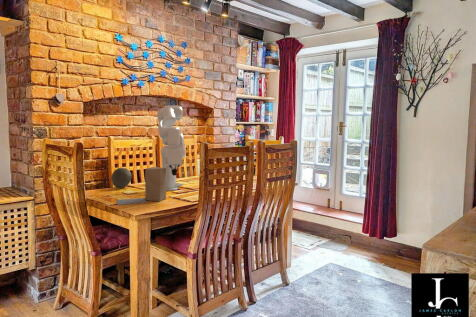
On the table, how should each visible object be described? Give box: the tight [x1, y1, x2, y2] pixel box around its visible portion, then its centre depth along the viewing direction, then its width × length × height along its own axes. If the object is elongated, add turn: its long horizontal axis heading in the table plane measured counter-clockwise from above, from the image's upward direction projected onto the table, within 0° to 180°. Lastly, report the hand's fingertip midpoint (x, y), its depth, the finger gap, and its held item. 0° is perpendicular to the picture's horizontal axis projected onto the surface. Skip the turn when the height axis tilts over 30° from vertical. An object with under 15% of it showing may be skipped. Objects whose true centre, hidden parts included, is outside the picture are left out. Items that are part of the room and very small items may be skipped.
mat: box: [115, 197, 148, 206], centre depth 221 cm, size 17×14×1 cm
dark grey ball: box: [110, 167, 133, 189], centre depth 265 cm, size 14×14×15 cm
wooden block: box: [144, 166, 167, 202], centre depth 226 cm, size 10×10×20 cm
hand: (174, 175), depth 230 cm, fingers closed
